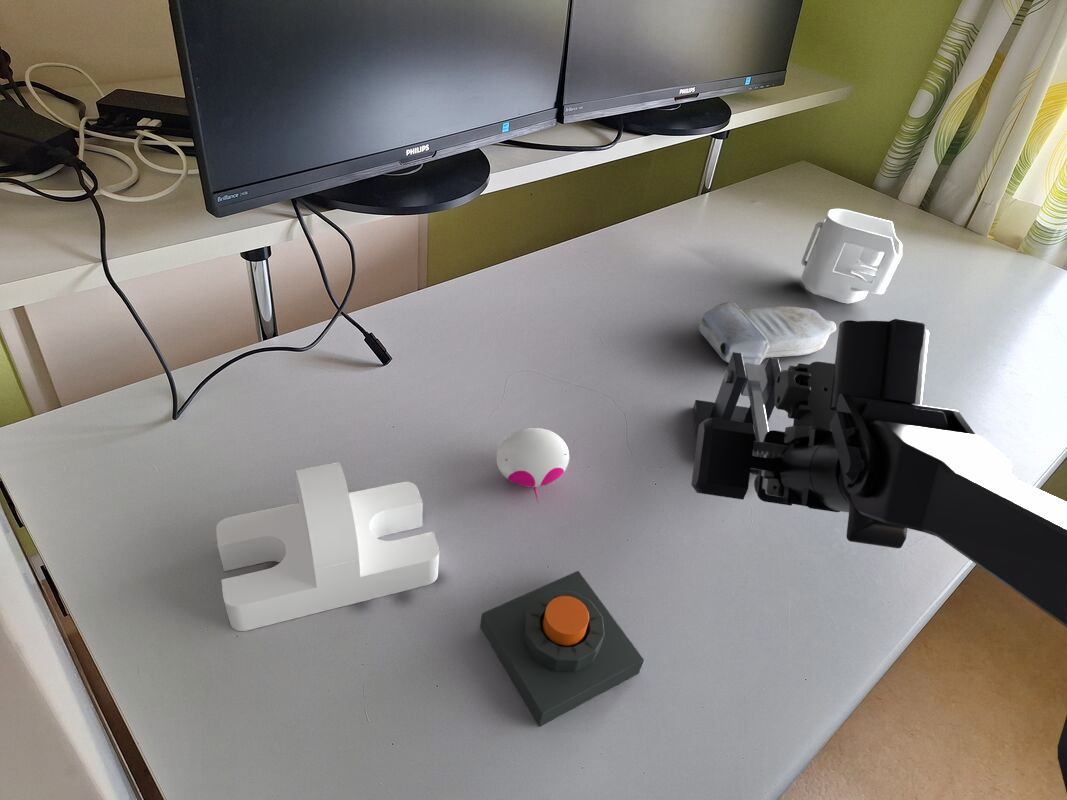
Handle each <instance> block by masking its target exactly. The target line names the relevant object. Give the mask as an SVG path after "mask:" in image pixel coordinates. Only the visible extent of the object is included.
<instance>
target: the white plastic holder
mask: <svg viewBox="0 0 1067 800" xmlns="http://www.w3.org/2000/svg"><path fill="white" fill-rule="evenodd" d="M816 235H817V236H816ZM811 248H812V249H811ZM809 253H810V254H809ZM808 255H809V256H808ZM807 257H808V258H807ZM902 257H903V243H902V242H901V240H899V239H898V237H897V236H896V231H895V227H894V223H893V221H892V220H887V219H884V218H879V217H876V216H873V215H869V214H864V213H860V212H858V211H853V210H849V209H845V208H831V209H829V210H827V213H826V215H825V217H824V219H823V220H822V221H819V222H817V223H815V226H814V228H813V231H812V233H811V236H810V238H809V241H808V243H807V246H806V248H805V251H804V253H803V255H802V259H801V265H802V266H804V267H803V270H802V273H801V276H800V280H801V282H802V284H803V286H804V287H805V289H806V290H807V291H809V292H810V293H812V294H814V295H816V296H819V297H823V298H827V299H830V300H833V301H835V302H838V303H842V304H854V303H856V302H859V301H862V300H864V299H865V298H866V297H867V295H868V293H871V294H875V295H883V294H885V292H886V290H887V287H888V286H889V283H890V282H891V280H892V277H893V276H894V273H895V271H896V269H897V266H898V264H899V263H900V261H901V259H902ZM858 262H860V263H861V264H860V263H858ZM863 264H864V265H863ZM871 266H873V267H871ZM875 266H878V267H877V268H874V267H875ZM853 271H854V272H853ZM855 272H858V273H862V274H865V275H866V274H867V275H869V276H873V278H872V280H871V281H870V280H867V279H866V278H865V277H863V276H862V275H860V274H858V273H855Z"/></svg>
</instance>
